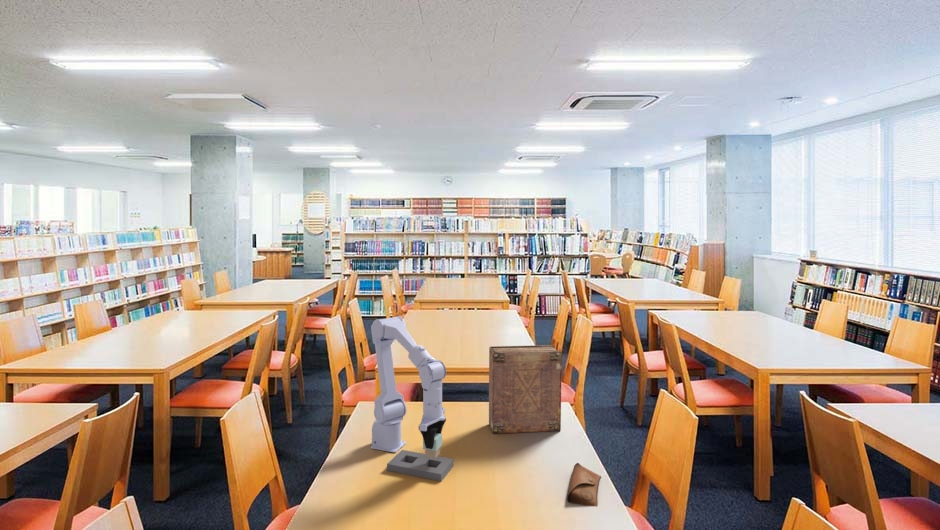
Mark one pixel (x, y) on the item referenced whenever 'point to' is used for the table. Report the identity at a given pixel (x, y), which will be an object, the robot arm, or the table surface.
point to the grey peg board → (420, 465)
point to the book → (524, 389)
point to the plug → (434, 447)
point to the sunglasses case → (583, 486)
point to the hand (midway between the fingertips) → (432, 444)
